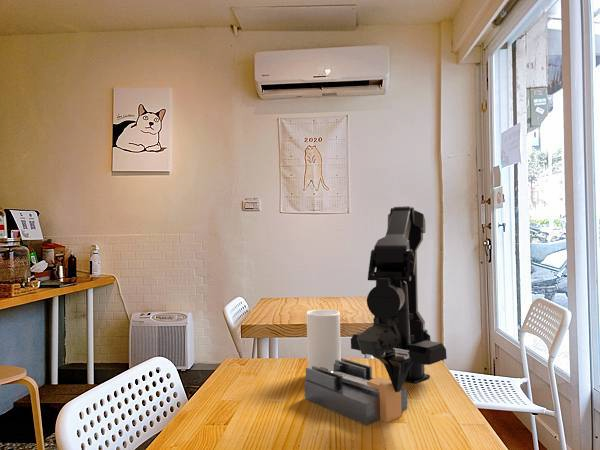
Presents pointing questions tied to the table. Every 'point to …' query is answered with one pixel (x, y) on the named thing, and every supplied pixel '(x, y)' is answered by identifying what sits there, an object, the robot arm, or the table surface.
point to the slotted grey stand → (346, 391)
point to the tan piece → (387, 399)
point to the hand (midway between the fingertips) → (397, 391)
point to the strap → (356, 381)
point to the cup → (323, 338)
